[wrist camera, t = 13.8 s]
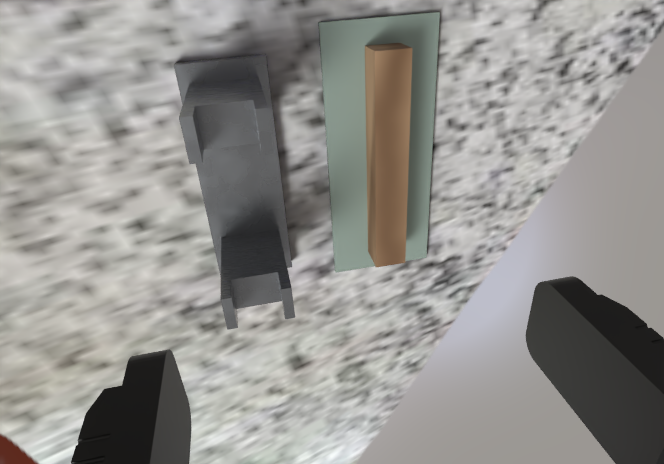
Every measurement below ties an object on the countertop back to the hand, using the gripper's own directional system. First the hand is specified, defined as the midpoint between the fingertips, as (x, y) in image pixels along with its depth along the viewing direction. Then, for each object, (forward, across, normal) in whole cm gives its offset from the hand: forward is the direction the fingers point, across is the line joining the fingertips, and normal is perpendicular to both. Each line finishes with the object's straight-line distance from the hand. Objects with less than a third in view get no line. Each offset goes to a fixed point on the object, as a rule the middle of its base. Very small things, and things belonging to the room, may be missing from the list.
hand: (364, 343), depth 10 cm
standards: (+32, +3, +9) cm, 33 cm away
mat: (+32, -10, +9) cm, 35 cm away
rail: (+32, -10, +9) cm, 34 cm away
